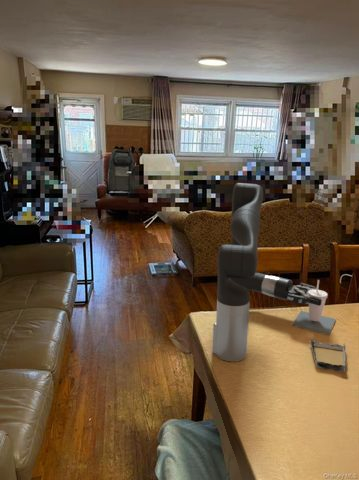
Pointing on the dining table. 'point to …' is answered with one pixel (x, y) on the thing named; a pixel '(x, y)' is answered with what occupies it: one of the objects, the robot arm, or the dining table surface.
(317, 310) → the smoothie
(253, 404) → the dining table surface
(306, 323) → the mat
